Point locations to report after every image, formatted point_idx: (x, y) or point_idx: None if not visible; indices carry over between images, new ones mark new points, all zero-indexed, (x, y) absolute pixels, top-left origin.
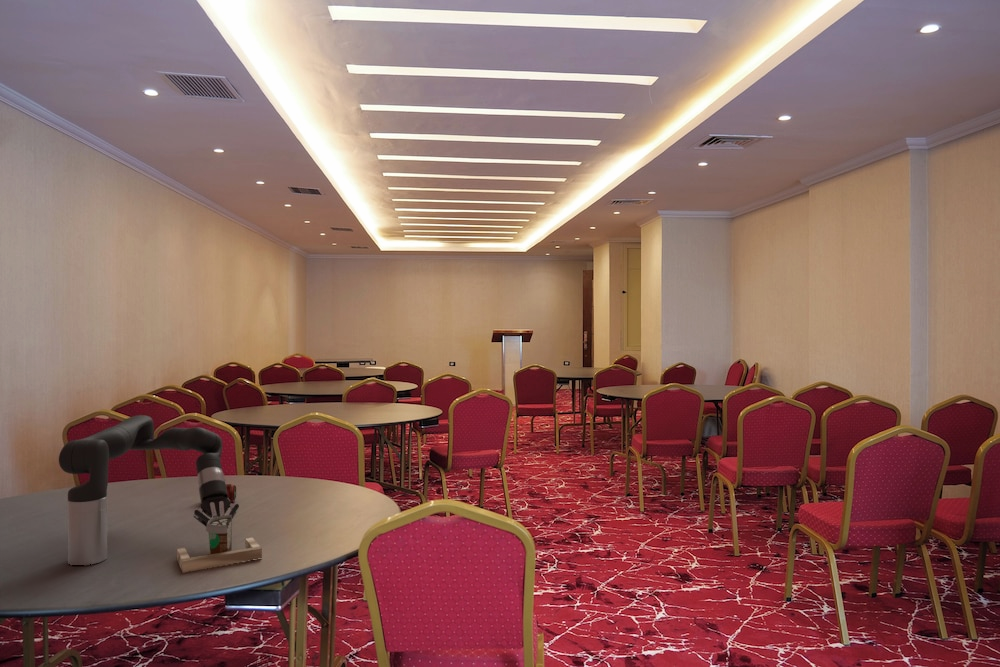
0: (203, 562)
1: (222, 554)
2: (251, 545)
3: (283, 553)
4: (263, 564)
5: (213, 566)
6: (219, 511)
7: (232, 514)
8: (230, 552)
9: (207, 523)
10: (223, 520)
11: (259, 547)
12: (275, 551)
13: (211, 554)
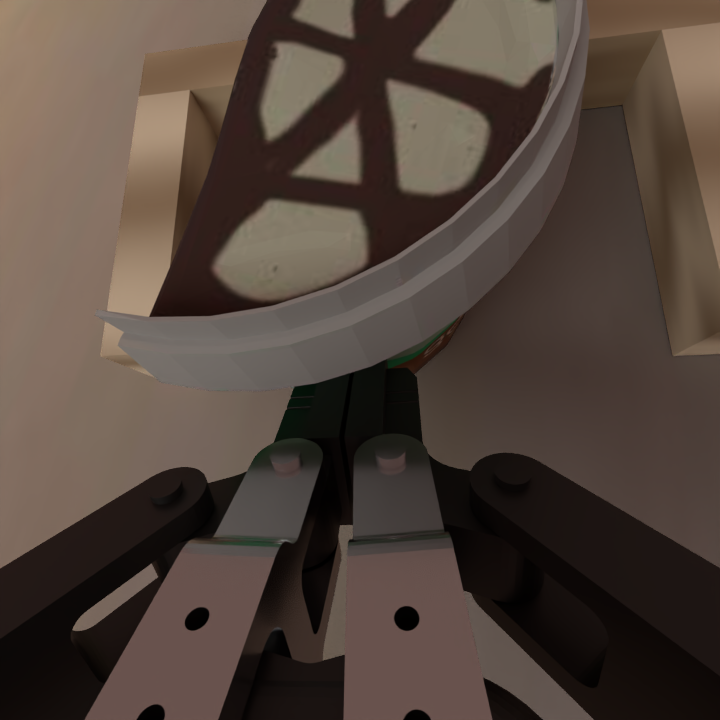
0: None
1: None
2: (180, 140)
3: (48, 168)
4: (205, 36)
5: None
6: (252, 663)
7: (48, 553)
8: None
9: (577, 90)
10: (295, 206)
11: (150, 77)
12: (67, 224)
13: None
